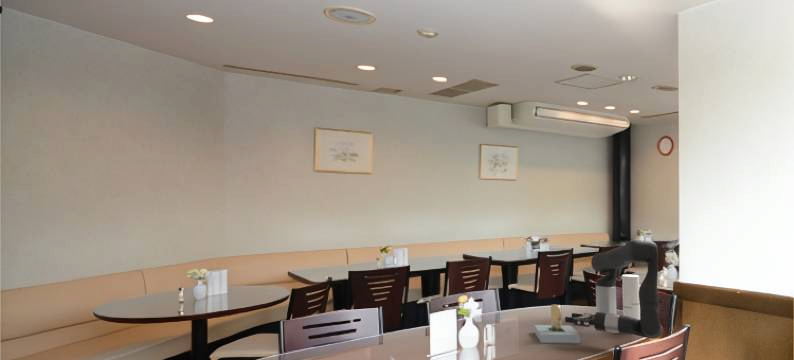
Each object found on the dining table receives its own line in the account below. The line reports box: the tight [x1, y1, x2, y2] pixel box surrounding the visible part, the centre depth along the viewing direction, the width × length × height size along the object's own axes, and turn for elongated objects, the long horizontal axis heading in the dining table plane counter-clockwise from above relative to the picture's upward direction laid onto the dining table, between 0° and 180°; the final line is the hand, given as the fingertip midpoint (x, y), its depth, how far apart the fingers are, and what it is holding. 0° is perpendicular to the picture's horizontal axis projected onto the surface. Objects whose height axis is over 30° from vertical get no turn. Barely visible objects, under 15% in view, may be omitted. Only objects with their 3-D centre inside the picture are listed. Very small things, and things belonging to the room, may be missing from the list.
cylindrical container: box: [621, 274, 641, 319], centre depth 234 cm, size 7×7×25 cm
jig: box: [534, 324, 581, 344], centre depth 222 cm, size 16×16×4 cm
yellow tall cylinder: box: [550, 304, 563, 332], centre depth 222 cm, size 4×4×14 cm
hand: (568, 317), depth 219 cm, fingers open, 8 cm apart
